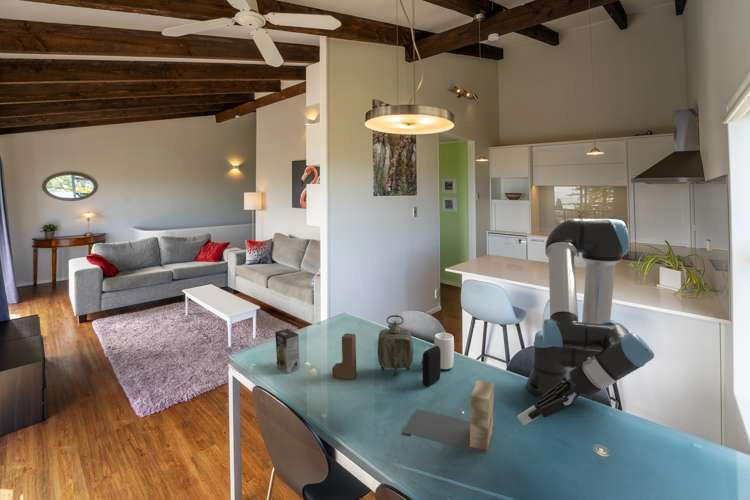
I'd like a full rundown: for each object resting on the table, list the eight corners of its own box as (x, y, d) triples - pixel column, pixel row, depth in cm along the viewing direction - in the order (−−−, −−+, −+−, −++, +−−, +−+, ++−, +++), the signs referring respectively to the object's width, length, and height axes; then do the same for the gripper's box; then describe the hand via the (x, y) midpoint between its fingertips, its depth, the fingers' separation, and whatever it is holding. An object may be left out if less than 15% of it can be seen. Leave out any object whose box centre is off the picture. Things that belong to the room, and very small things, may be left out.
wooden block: (332, 377, 157) (330, 335, 155) (336, 372, 161) (335, 331, 159) (352, 380, 155) (351, 338, 152) (356, 375, 159) (355, 333, 156)
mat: (495, 429, 122) (495, 427, 122) (488, 456, 110) (488, 454, 110) (416, 410, 133) (416, 408, 133) (402, 433, 121) (402, 431, 120)
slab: (492, 431, 120) (494, 383, 118) (487, 450, 111) (488, 399, 109) (476, 427, 122) (477, 380, 120) (469, 446, 113) (471, 395, 111)
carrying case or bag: (425, 390, 146) (425, 353, 144) (418, 387, 148) (419, 351, 146) (441, 380, 154) (442, 345, 151) (435, 378, 156) (436, 343, 154)
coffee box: (276, 367, 167) (274, 331, 165) (289, 362, 172) (287, 328, 169) (287, 374, 161) (285, 337, 158) (300, 369, 165) (298, 333, 162)
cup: (456, 366, 166) (457, 334, 164) (449, 374, 159) (449, 341, 157) (438, 361, 171) (438, 331, 169) (430, 369, 164) (430, 337, 162)
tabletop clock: (412, 368, 165) (412, 312, 161) (413, 378, 156) (413, 319, 152) (378, 368, 165) (377, 312, 161) (377, 378, 156) (377, 319, 152)
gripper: (579, 355, 108) (513, 398, 117) (582, 375, 96) (509, 421, 106) (599, 377, 106) (531, 419, 116) (605, 400, 95) (529, 444, 104)
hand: (521, 420), depth 111 cm, fingers closed
